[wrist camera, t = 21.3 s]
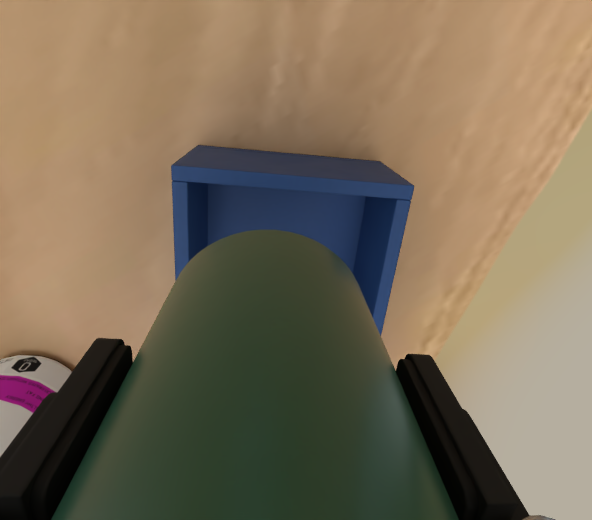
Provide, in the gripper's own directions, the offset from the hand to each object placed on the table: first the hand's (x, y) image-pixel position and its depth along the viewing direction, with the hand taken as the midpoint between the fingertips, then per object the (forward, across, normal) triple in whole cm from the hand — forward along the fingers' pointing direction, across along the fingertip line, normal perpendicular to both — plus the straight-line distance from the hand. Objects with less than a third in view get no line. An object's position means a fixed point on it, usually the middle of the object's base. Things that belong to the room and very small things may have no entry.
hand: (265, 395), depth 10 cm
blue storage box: (+19, -1, +6) cm, 20 cm away
